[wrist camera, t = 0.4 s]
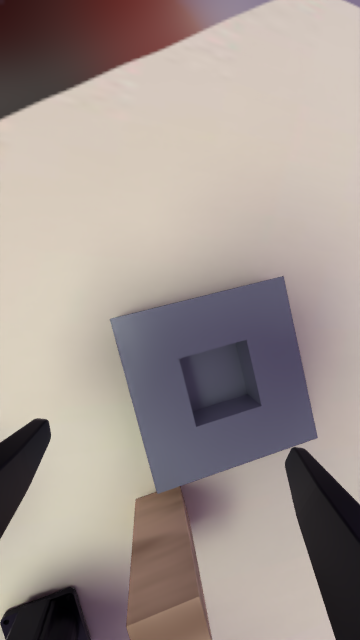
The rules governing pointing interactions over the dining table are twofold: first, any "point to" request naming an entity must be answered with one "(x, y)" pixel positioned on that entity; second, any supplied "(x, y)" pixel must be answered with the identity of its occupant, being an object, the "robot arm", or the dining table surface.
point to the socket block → (215, 381)
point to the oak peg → (165, 573)
